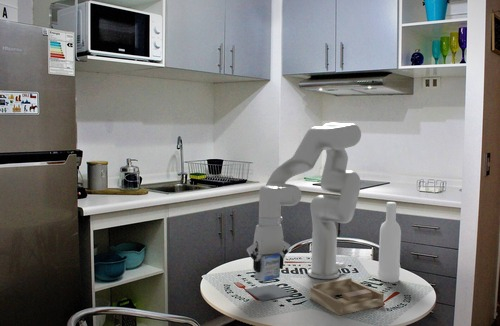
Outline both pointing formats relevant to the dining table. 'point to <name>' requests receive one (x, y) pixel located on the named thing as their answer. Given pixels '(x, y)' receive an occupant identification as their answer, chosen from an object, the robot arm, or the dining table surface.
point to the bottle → (389, 246)
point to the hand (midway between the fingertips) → (268, 269)
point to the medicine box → (269, 267)
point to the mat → (268, 292)
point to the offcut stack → (356, 297)
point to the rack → (327, 289)
